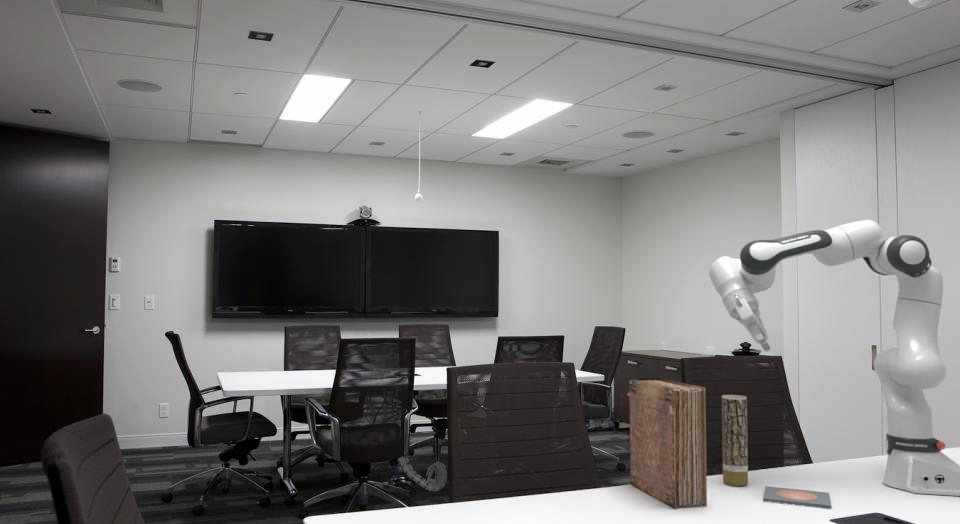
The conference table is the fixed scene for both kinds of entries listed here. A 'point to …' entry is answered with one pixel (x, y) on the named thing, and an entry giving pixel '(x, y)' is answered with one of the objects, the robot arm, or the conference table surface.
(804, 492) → the card
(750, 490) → the conference table surface
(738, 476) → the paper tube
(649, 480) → the book
